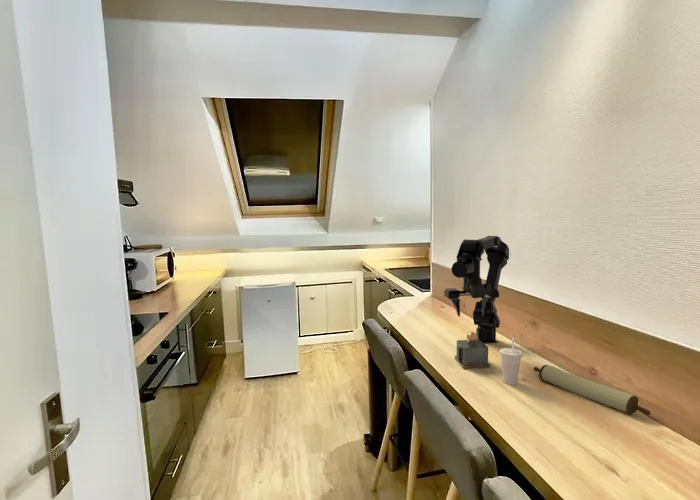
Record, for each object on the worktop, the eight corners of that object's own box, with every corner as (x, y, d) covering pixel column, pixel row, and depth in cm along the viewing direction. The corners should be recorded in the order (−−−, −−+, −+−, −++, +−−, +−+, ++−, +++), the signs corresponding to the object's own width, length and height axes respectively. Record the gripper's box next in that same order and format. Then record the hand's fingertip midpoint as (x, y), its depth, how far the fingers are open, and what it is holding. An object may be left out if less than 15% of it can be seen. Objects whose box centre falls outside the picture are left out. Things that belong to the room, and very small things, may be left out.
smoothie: (523, 387, 119) (525, 341, 117) (500, 386, 120) (501, 340, 118) (519, 378, 125) (520, 334, 123) (497, 377, 126) (498, 333, 125)
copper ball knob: (477, 355, 141) (477, 329, 140) (483, 361, 135) (483, 334, 134) (460, 356, 140) (460, 330, 139) (466, 362, 135) (466, 335, 134)
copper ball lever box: (479, 357, 143) (480, 338, 142) (490, 367, 134) (490, 347, 133) (453, 358, 142) (453, 339, 141) (462, 368, 133) (462, 348, 132)
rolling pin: (527, 377, 126) (528, 362, 125) (539, 374, 129) (539, 358, 128) (644, 425, 98) (645, 405, 97) (655, 418, 101) (656, 399, 100)
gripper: (453, 278, 139) (453, 322, 140) (506, 277, 140) (505, 321, 141) (444, 273, 150) (443, 314, 151) (493, 272, 151) (492, 313, 152)
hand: (471, 316), depth 149 cm, fingers open, 9 cm apart
